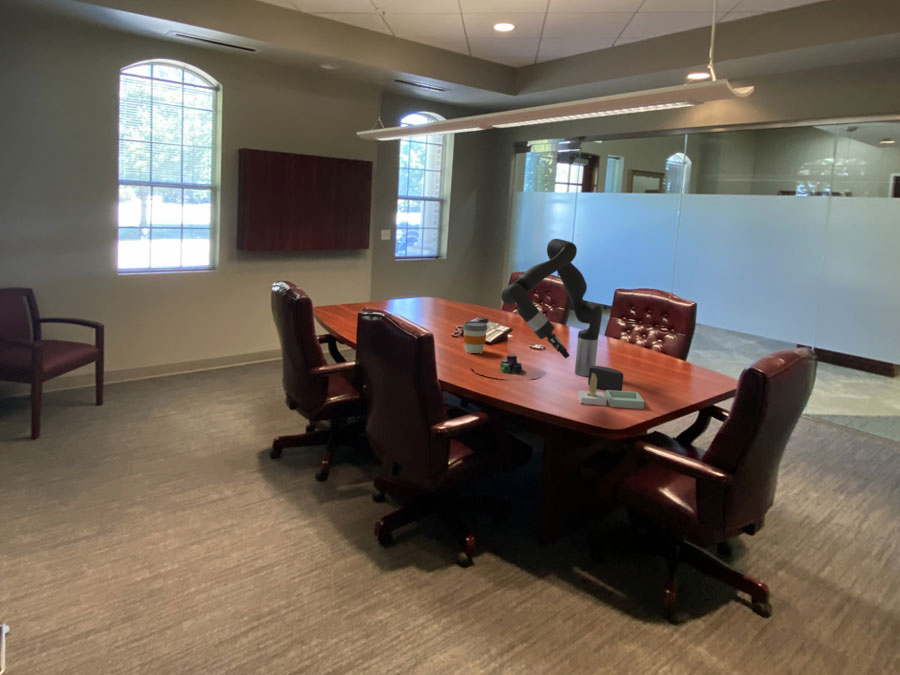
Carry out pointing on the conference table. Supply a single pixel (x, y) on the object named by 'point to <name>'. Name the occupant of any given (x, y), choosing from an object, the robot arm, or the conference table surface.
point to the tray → (624, 399)
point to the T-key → (593, 385)
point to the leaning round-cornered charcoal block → (607, 378)
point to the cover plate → (592, 398)
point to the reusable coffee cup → (474, 336)
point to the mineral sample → (511, 365)
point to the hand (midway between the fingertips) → (566, 354)
